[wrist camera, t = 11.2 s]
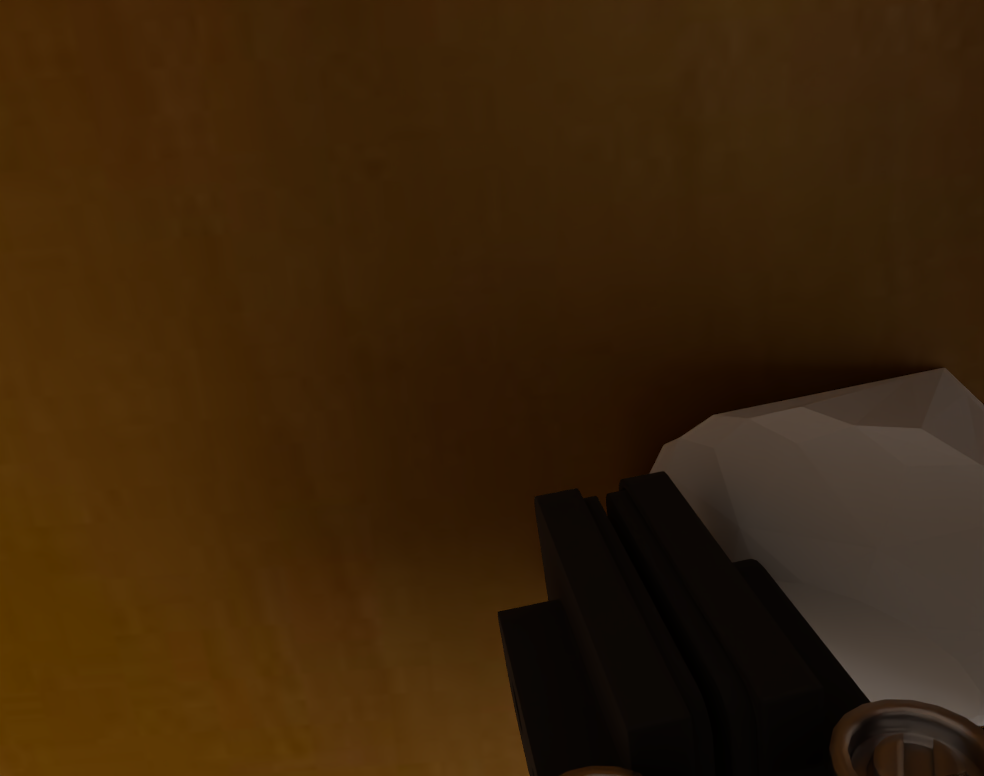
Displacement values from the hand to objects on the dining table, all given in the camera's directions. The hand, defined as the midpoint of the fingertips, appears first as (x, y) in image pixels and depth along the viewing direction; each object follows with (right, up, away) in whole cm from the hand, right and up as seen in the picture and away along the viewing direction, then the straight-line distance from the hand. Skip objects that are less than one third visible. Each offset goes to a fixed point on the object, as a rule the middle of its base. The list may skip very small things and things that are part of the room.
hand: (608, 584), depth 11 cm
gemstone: (+3, +1, +2) cm, 4 cm away
